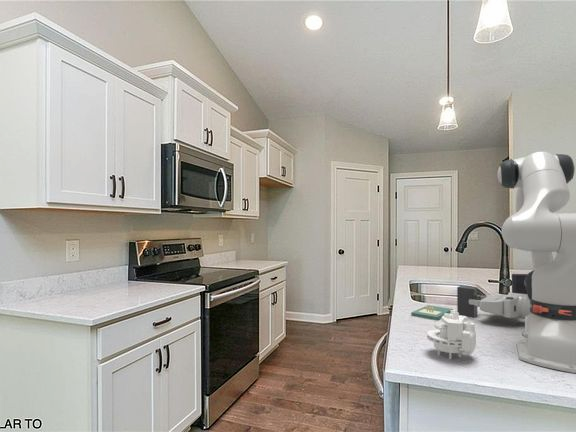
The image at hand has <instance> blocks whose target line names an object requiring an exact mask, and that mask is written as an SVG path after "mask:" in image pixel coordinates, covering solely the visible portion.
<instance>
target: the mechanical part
mask: <svg viewBox="0 0 576 432" xmlns="http://www.w3.org/2000/svg"><path fill="white" fill-rule="evenodd" d="M440 320H441V321H442V322H440V321H439V322H435V324H434V328H435V329H432V330H428V331H427V332H426V334H427V336H426V339H427V340H428V341H430V342H431V343H433V346H434V349H436V350H437V356H440V355H441V353H442V352H444V353H449V354H448V359H449V360H452V354H458V358H460V359H462V354H466V355H468V356H469V355H472V354H473V353H474V351H475V349H476V347H477V333H476V324H475V323H474V322H471V321H468V317H466V316H461V315H459V313H457V309H456V310H455V309H454V310H450V314H449V313H445V314H444V316H442V317H441V319H440Z"/></svg>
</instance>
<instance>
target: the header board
mask: <svg viewBox="0 0 576 432" xmlns="http://www.w3.org/2000/svg"><path fill="white" fill-rule="evenodd" d="M450 310H453V308H449V307H443V306H438V305H430V304H428V305H426V306H423V307H420V308H418V309H416V310H414V311H412V312H411V313H410V315H411V316H412V317H417V318H422V319H427V320H428V319H429V320H434V321H440V320H441V317H442V316H444V314H445V313H449V314H450Z"/></svg>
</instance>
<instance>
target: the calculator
mask: <svg viewBox="0 0 576 432" xmlns="http://www.w3.org/2000/svg"><path fill="white" fill-rule="evenodd" d="M527 274H528V273H512V274H511V293H519V294H527V291H526V287H525V278H526V276H527Z"/></svg>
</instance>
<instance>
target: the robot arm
mask: <svg viewBox="0 0 576 432" xmlns="http://www.w3.org/2000/svg"><path fill="white" fill-rule="evenodd" d="M575 172H576V166H575V163H574V160H573V158H572V157H571V156H570V155H568V154H565V153H562V154H561V153H556V154H553V153H550V152H548V151H535V152H532V153H530V154H529V155H527V156H524V157H520V158H519V157H518V158H513V159H512V158H509V159H506V160H504V161H502V162H501V163H500V164H499V167H498V170H497V173H496V174H497V175H496V176H497V180H498V182H499V183H500V186H501V187H503V188H504V189H513V190H514V188H516V189H517V190H516V197H515V199H516V200H515V211H516V212H515V213H514V214H512V215H510V216H509V217H507V218H506V219H505V221H504V222H503V224H502V226H501V237H502V238H503V241H504V243H505V244H506V245H507V246H508V247H509V248H511V249H514V250H515V249H517V250H521V251H524V252H525V251H526V252H530V253H531V260H532V271H530V272H528V273H526V274H527V276H526V278H525V287H526V291H527V294H519V293H512V292H508V294H502V293H501V294H500V293H491V294H489V295H479V294H477V300H475V299H470V300H469V304H472V305H476V306H477V307H478V308H479V310H480V311H482V312H484V313H488V314H493V315H498V316H503V317H504V318H506V319H521V320H522V319H523V320H524V332H522V334H521V335H522V337H523V338H525V339H524V340H522V339H521V340H520V339H519V340H516V343H515V344H516V349H517V355H518V356H517V357H518V359H520V360H521V361H524V362H526V363H529V364H531V365H532V364H533V365H536V366H540V367H544V368H548V369H552V370H556V371H557V370H558V371H562V372H567V373H574V374H576V212H558V211H559V210H561V209H562V208H564V207H565V206H566V205H568V202H569V201H570V196H571V195H570V189H569V186H568V184H569V182H571V181H572V180H573V178H574V175H575ZM553 253H556V255H555V258H553Z"/></svg>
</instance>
